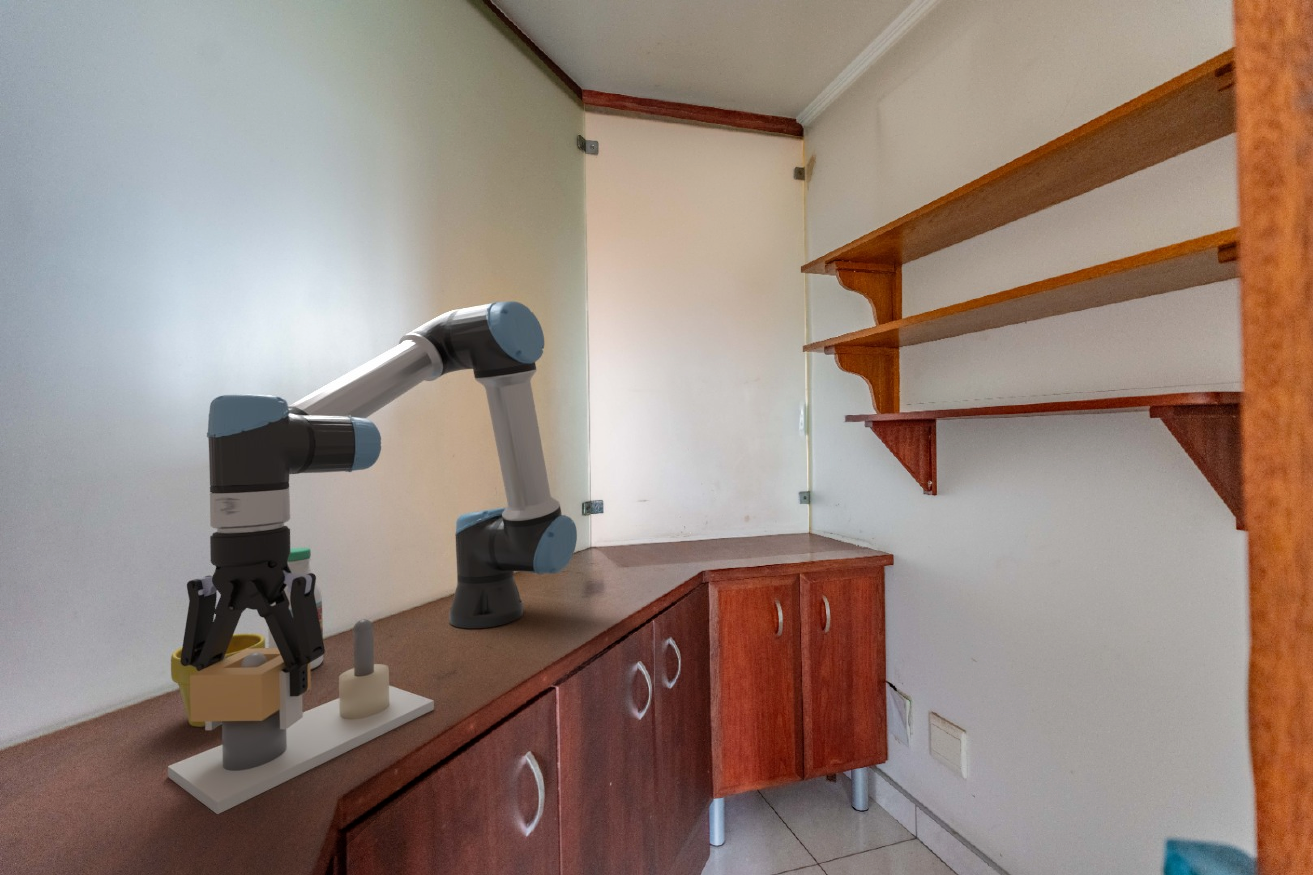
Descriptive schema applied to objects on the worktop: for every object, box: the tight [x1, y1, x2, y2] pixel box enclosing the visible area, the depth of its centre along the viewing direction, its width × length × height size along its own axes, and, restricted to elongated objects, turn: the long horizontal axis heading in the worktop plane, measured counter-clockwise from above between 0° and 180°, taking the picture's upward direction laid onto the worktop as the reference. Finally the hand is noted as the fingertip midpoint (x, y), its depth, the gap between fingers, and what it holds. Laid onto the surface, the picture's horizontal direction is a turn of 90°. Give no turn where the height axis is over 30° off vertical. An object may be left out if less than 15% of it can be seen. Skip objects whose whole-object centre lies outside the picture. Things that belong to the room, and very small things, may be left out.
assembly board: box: [167, 618, 435, 815], centre depth 69 cm, size 25×13×13 cm, turn 148°
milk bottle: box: [267, 547, 324, 670], centre depth 94 cm, size 8×8×20 cm
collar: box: [190, 647, 312, 722], centre depth 64 cm, size 8×8×5 cm
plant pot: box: [170, 632, 266, 728], centre depth 77 cm, size 10×10×10 cm
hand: (254, 723), depth 64 cm, fingers closed on collar, 8 cm apart
